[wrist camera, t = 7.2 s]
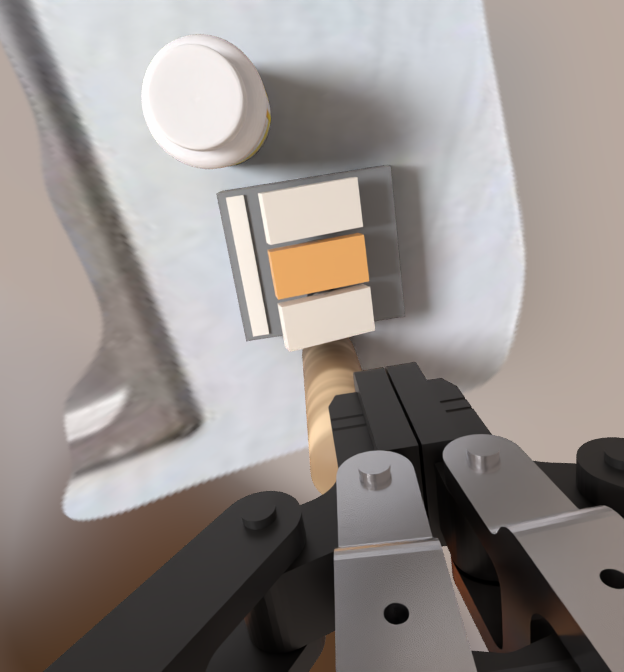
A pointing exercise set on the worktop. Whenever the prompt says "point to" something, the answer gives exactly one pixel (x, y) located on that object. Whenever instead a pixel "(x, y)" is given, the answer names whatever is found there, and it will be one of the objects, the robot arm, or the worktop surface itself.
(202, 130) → the supplement bottle
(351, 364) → the pine post
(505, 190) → the worktop surface
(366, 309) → the paddle near post
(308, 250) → the paddle middle
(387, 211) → the board
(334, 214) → the paddle near bottle
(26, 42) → the worktop surface
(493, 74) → the worktop surface
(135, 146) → the worktop surface
